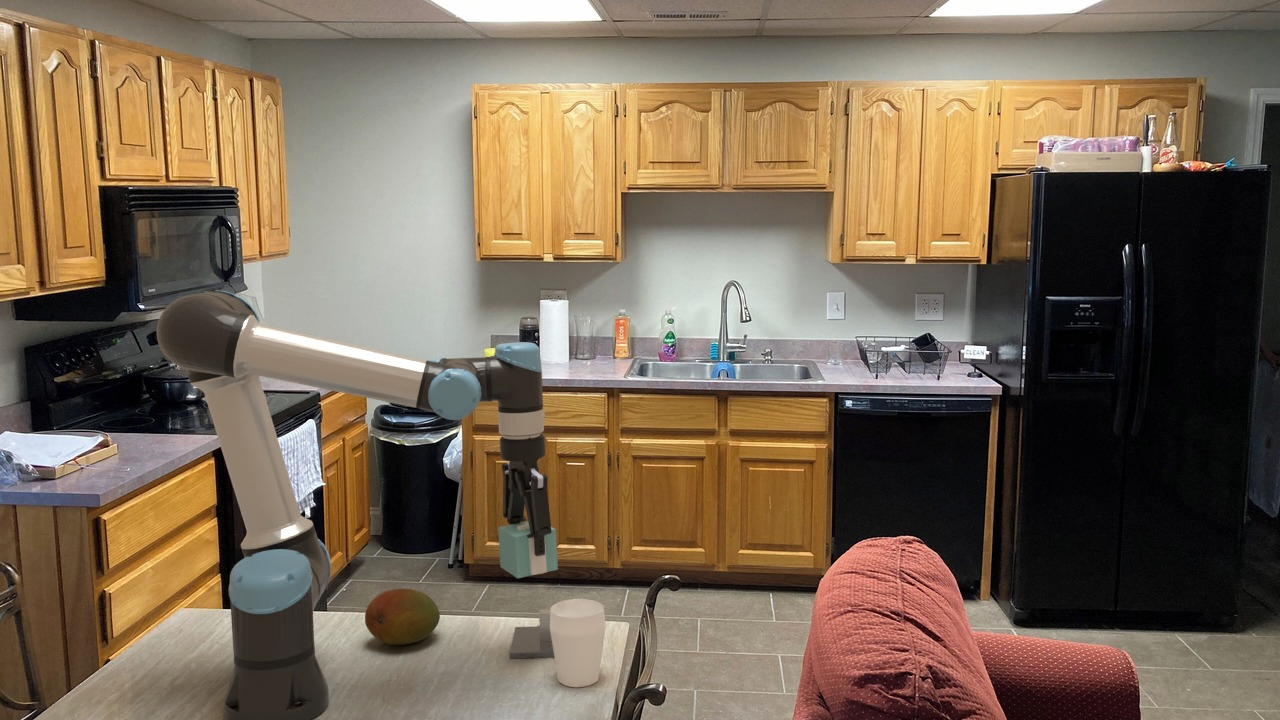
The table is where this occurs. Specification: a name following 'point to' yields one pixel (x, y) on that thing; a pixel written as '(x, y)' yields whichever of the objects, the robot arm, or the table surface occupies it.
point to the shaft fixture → (533, 639)
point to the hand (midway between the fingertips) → (528, 566)
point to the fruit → (401, 616)
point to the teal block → (523, 549)
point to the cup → (577, 640)
